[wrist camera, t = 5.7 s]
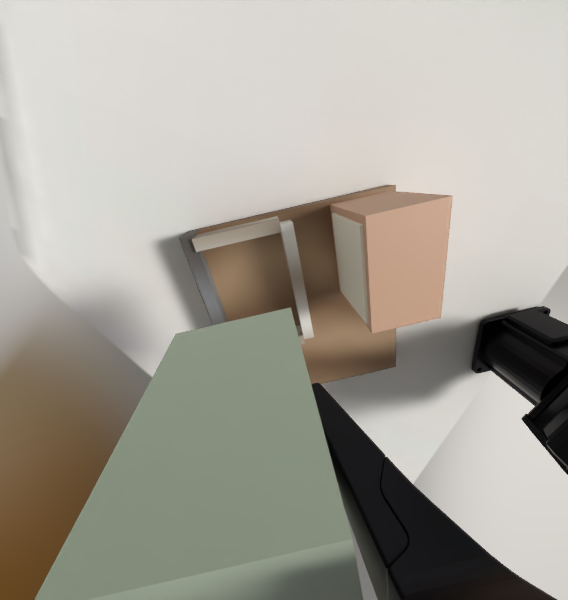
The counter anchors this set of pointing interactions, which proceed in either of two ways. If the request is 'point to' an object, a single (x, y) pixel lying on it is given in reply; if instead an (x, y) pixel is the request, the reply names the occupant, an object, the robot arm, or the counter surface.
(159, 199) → the counter surface
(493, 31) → the counter surface
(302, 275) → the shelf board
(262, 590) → the tea box
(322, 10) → the counter surface
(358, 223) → the rust box
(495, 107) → the counter surface
